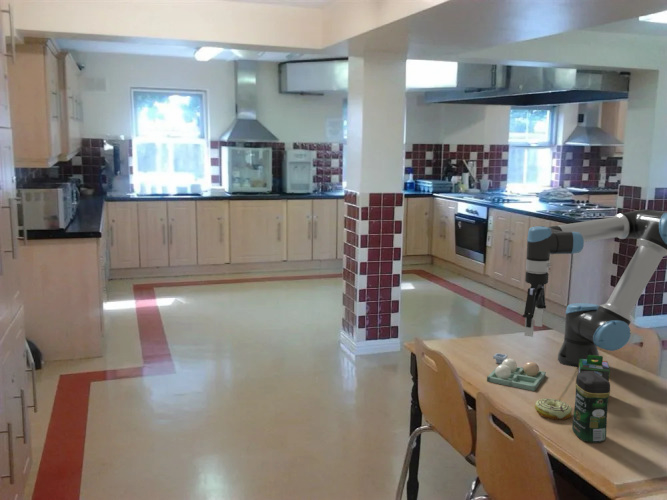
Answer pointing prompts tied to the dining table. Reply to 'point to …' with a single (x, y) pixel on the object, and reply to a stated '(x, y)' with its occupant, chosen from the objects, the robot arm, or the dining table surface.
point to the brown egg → (531, 369)
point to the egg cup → (499, 359)
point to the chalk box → (595, 366)
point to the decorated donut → (553, 409)
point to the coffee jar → (591, 407)
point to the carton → (519, 379)
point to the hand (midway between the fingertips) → (533, 330)
